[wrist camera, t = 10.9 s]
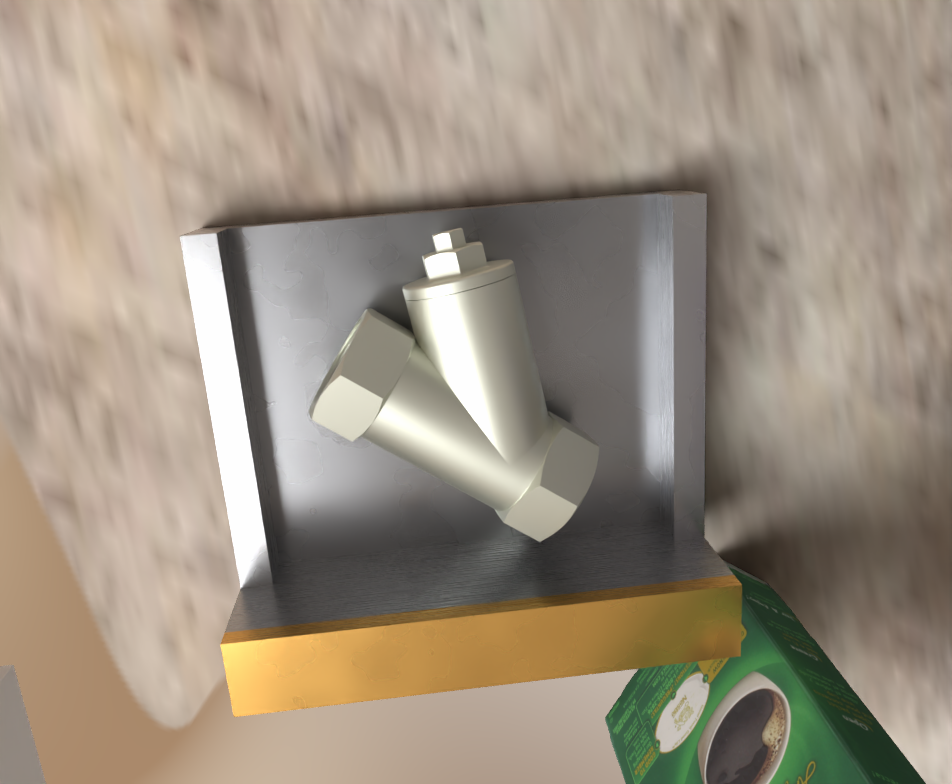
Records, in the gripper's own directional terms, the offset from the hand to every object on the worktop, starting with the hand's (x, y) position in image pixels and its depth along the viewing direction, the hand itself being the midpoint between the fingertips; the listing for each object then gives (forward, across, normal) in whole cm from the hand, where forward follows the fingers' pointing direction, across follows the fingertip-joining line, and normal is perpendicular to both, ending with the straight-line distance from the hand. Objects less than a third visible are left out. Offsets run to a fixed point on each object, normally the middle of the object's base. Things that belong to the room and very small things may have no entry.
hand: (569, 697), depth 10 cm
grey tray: (+18, 0, -1) cm, 18 cm away
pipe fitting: (+17, 0, 0) cm, 17 cm away
